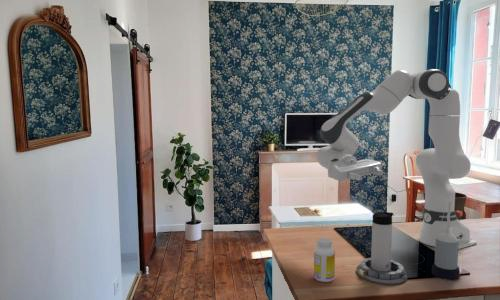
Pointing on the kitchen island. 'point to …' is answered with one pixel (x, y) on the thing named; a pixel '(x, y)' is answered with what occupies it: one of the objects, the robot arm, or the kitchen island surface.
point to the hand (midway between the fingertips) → (370, 175)
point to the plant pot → (459, 203)
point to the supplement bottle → (324, 260)
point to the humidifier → (446, 253)
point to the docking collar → (382, 273)
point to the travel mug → (381, 241)
